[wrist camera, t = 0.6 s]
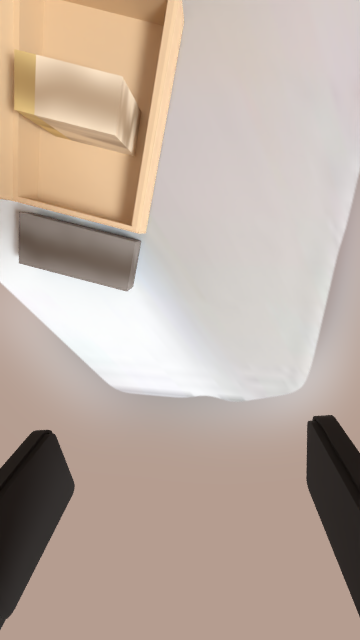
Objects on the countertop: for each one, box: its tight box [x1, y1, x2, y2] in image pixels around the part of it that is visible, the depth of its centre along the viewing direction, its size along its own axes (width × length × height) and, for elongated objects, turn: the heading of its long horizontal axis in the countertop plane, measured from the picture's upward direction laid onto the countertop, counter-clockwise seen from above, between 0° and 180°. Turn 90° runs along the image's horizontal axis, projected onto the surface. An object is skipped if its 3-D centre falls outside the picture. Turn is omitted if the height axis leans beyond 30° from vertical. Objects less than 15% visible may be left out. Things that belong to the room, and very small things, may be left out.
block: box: [14, 49, 142, 156], centre depth 26 cm, size 4×10×7 cm, turn 76°
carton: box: [0, 0, 184, 233], centre depth 24 cm, size 21×16×12 cm
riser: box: [19, 212, 141, 291], centre depth 33 cm, size 6×15×3 cm, turn 76°
